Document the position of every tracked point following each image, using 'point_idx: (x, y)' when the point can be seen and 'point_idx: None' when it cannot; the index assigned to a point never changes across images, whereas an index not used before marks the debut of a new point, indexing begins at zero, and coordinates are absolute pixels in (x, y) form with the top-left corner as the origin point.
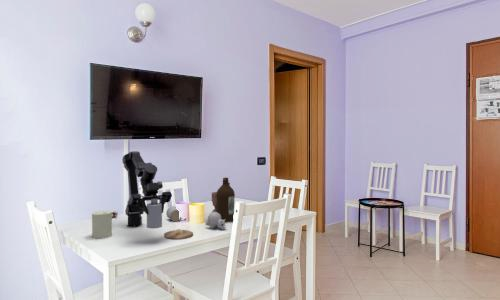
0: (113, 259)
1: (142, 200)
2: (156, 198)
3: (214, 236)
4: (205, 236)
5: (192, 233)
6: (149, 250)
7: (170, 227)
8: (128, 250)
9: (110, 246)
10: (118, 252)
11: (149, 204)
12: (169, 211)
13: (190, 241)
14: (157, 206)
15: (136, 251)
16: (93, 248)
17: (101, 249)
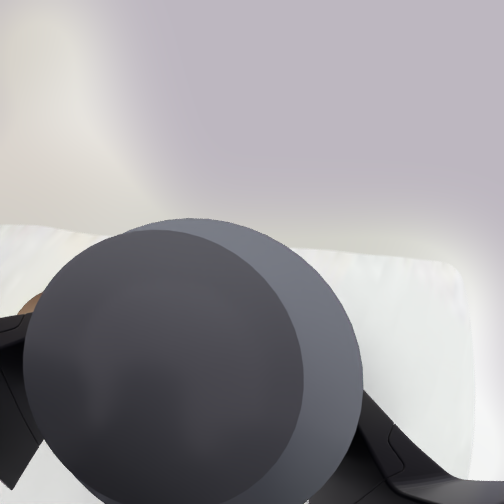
0: (452, 269)
1: (482, 489)
2: (32, 375)
3: (15, 225)
4: (24, 250)
5: (24, 308)
6: (323, 265)
7: (22, 497)
8: (393, 331)
9: (423, 438)
10: (429, 333)
11: (291, 438)
12: None
13: (103, 239)
14: (215, 230)
15: (372, 293)
16: (467, 442)
17: (457, 413)
